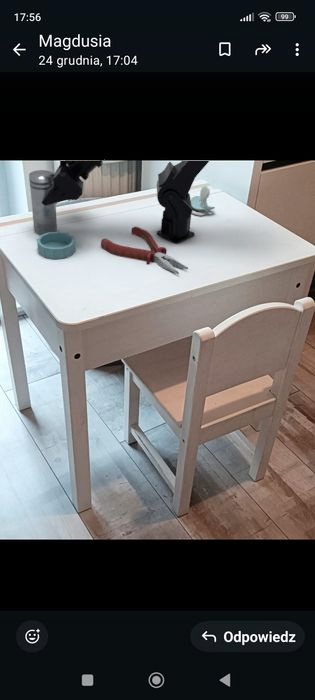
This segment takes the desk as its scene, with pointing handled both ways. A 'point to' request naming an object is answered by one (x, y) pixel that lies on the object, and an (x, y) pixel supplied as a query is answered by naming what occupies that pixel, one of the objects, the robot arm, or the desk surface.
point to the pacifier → (201, 202)
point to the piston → (41, 214)
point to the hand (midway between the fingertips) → (46, 195)
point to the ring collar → (56, 245)
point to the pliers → (144, 251)
